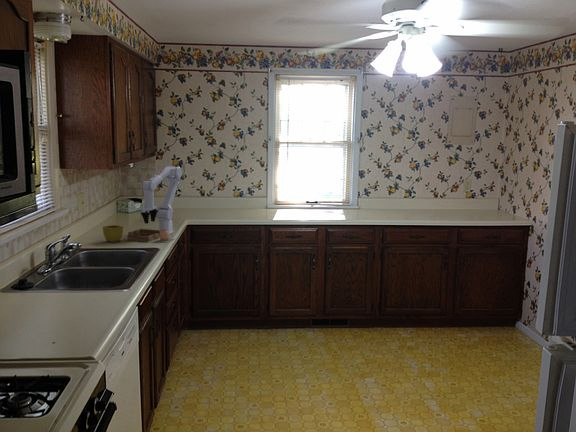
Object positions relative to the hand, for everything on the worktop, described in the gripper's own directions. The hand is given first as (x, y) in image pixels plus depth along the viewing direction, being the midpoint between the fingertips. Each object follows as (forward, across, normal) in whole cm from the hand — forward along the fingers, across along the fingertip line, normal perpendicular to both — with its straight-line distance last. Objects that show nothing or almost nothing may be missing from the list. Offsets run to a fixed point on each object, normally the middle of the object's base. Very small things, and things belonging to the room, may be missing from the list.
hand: (149, 222), depth 349 cm
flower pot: (+10, +18, -14) cm, 25 cm away
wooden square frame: (+9, +5, -1) cm, 11 cm away
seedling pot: (+9, +5, +13) cm, 17 cm away
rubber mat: (+9, +5, +13) cm, 17 cm away
